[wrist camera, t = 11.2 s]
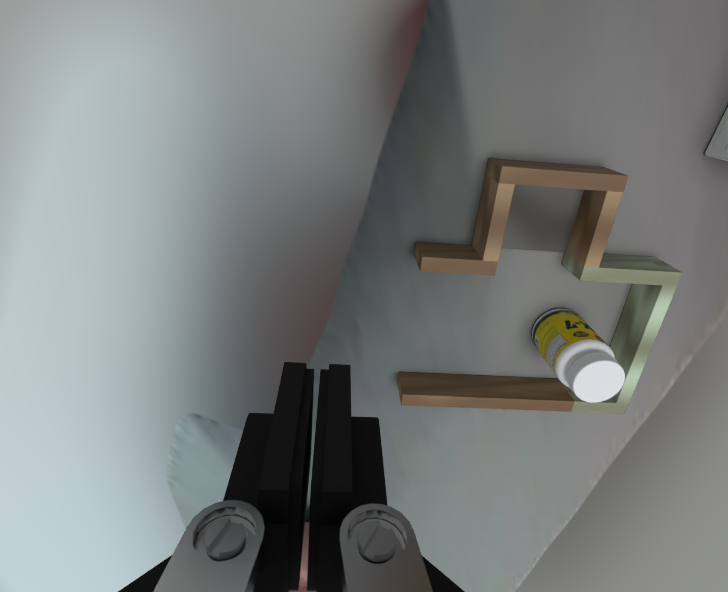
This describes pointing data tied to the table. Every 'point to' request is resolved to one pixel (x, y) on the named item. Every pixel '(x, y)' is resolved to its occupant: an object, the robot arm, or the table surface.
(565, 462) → the table surface
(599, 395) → the supplement bottle
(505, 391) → the zigzag wooden rail
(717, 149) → the small box
